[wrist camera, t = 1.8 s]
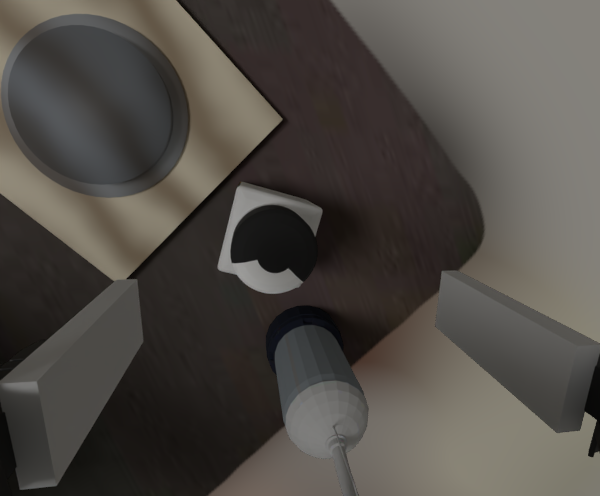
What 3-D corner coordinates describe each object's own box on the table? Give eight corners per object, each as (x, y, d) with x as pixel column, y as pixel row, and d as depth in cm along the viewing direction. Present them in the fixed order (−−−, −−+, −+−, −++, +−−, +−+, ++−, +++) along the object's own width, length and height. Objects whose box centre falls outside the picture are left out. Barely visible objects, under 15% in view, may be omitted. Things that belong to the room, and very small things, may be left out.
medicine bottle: (239, 180, 33) (235, 188, 21) (308, 200, 34) (340, 217, 23) (222, 249, 34) (210, 293, 23) (289, 265, 36) (311, 314, 24)
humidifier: (271, 378, 38) (315, 735, 14) (260, 313, 36) (287, 601, 12) (341, 364, 39) (489, 675, 15) (333, 299, 37) (492, 541, 13)
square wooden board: (123, 281, 33) (113, 291, 31) (-104, 105, 27) (-137, 99, 25) (281, 120, 32) (284, 117, 30) (81, -103, 26) (64, -130, 24)
